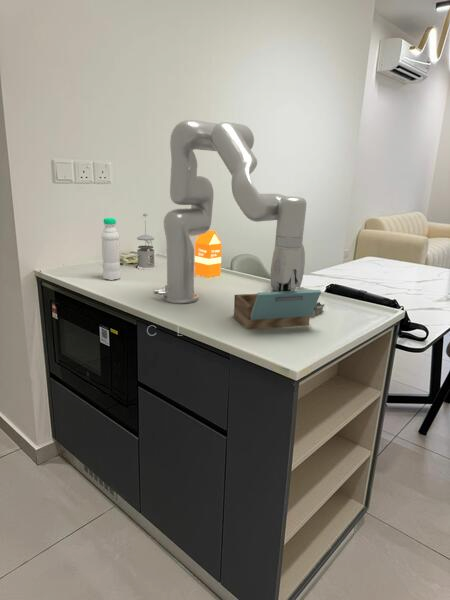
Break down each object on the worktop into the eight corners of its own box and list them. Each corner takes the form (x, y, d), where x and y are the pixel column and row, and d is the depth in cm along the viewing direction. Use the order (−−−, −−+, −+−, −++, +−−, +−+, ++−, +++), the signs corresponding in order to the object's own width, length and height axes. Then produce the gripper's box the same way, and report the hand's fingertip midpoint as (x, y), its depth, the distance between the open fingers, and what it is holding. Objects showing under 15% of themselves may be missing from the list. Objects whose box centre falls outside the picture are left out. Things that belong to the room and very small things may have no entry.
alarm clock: (286, 281, 189) (289, 235, 184) (303, 284, 186) (307, 237, 181) (269, 292, 171) (272, 241, 165) (287, 295, 168) (291, 243, 162)
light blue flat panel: (252, 322, 127) (259, 297, 120) (250, 317, 128) (257, 292, 122) (311, 318, 133) (322, 294, 126) (309, 313, 134) (319, 289, 127)
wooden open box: (247, 329, 130) (248, 306, 128) (233, 315, 142) (234, 294, 140) (308, 325, 136) (310, 303, 134) (291, 312, 148) (292, 291, 146)
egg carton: (311, 320, 142) (312, 307, 140) (290, 314, 146) (291, 302, 145) (326, 312, 150) (327, 300, 149) (306, 307, 154) (307, 296, 153)
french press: (132, 268, 205) (130, 213, 198) (141, 263, 216) (139, 211, 209) (152, 270, 203) (152, 214, 196) (160, 265, 214) (160, 212, 207)
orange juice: (207, 272, 202) (208, 228, 196) (220, 276, 196) (222, 230, 190) (194, 275, 196) (194, 229, 191) (208, 278, 190) (209, 231, 185)
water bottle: (124, 278, 185) (122, 218, 179) (111, 281, 180) (109, 219, 173) (112, 276, 189) (109, 216, 182) (99, 279, 183) (96, 217, 176)
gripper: (266, 237, 129) (261, 297, 135) (288, 247, 116) (281, 313, 121) (289, 237, 132) (283, 296, 137) (313, 247, 118) (306, 312, 124)
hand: (282, 304), depth 129 cm, fingers closed
